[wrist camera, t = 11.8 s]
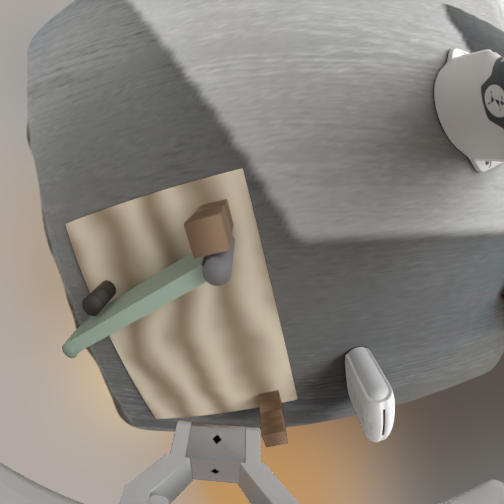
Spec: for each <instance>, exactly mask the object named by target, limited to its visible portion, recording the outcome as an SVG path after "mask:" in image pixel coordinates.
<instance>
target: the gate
mask: <svg viewBox="0 0 504 504" xmlns="http://www.w3.org/2000/svg"><path fill="white" fill-rule="evenodd" d="M234 246H235V239H234V237H233V235H232V237H231V243H230V249H229V250H228V251H224V252H220V253H216V254H211V255H207V256H203V257H199V258H195V259H194V257H193V254H192V253H191V254H189V255H187V256H185V257H184V258H182V259H180V260H179V261H177V262H175V263H174V264H172V265H170V266H169V267H167V268H165V269H164V270H162V271H160V272H159V273H157V274H155V275H154V276H152V277H150V278H149V279H147V280H145V281H144V282H142V283H141V284H139V285H137V286H136V287H134V288H132V289H131V290H129V291H128V292H126V293H124V294H123V295H121V296H119V297H118V298H116V299H115V300H113V301H111V302H110V303H108V304H107V305H105V307H104V308H103V309H102V310H101V311H100V312H99V313H98V315H96V316H91V315H89V316H88V317H87V318H86V319H85V321H84V322H83V323H82V324H81V325H80V326H79V327H78V328H77V330H76V331H75V332H74V333H73V334H72V335H71V337H70V338H69V339H68V340H67V341H66V342H65V344H64V345H63V346H62V349H63V352H64V353H65V355H67V356H68V357H69V358H75V357H76V355H77V354H78V353H79V351H81V350H83V349H85V348H87V347H89V346H91V345H92V344H94V343H96V342H98V341H100V340H102V339H103V338H105V337H107V336H109V335H111V334H113V333H114V332H116V331H118V330H120V329H122V328H124V327H125V326H127V325H129V324H131V323H133V322H135V321H136V320H138V319H140V318H142V317H144V316H145V315H147V314H149V313H151V312H153V311H155V310H156V309H158V308H160V307H162V306H164V305H165V304H167V303H169V302H171V301H173V300H175V299H176V298H178V297H180V296H182V295H184V294H185V293H187V292H189V291H191V290H193V289H195V288H196V287H198V286H200V285H202V284H204V283H205V282H208V283H209V284H211V285H214V286H221V285H224V284H225V283H227V282H228V281H229V279H230V277H231V272H232V263H233V254H234Z"/></svg>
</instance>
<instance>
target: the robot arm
mask: <svg viewBox="0 0 504 504" xmlns="http://www.w3.org/2000/svg"><path fill="white" fill-rule="evenodd" d="M434 99H435V106H436V110H437V114H438V117H439V120H440V123H441V125H442V127H443V129H444V131H445V133H446V135H447V136H448V138H449V139H450V141H451V142H452V143H453V144H454V145H455V147H457V148H458V149H459V150H460V151H461V152H462V153H464V154H465V155H466V156H467V157H468V158H469V159H470V161H471V163H472V165H473V166H474V168H475V169H476V170H477V171H478V172H486V171H487V170H489V169H491V168H493V167H495V166H497V165H499V164H501V163H503V162H504V56H502V57H501V56H500V55H498V53H496V52H492V51H491V50H488V49H487V50H482V51H478V52H474V53H468V52H466V51H463V50H460V49H458V48H454V49H451V50H450V51H449V54H448V59H447V63H446V64H445V65H444V67H443V68H442V69H441V70H440V71H439V73H438V75H437V78H436V81H435V87H434ZM485 161H486V163H485ZM193 479H197V480H208V481H219V482H229V483H238V485H239V487H240V488H241V490H242V491H243V493H244V494H245V496H246V497H247V498H248V500H249V502H250V503H251V504H300V503H299V502H298V501H297V500H296V499H295V498H294V497H293V496H292V495H291V493H289V491H288V490H287V489H286V488H285V487H284V486H283V484H282V483H281V482H280V481H279V480H278V479H277V477H275V475H274V474H273V473H272V471H271V470H270V469H269V468H268V467H267V466H266V464H265V463H261V450H260V429H259V428H253V427H246V428H245V427H238V426H222V425H219V426H217V425H209V424H201V423H193V422H187V421H180V420H179V421H178V423H177V426H176V430H175V434H174V439H173V443H172V447H171V452H170V454H165V455H164V456H163V457H162V458H160V459H159V460H158V461H157V462H155V463H154V464H153V465H152V466H151V467H149V468H148V469H147V470H145V471H144V472H143V473H141V474H140V475H139V476H138V477H136V478H135V479H134V480H132V481H131V482H130V483H128V484H127V485H126V486H125V487H124V489H123V493H122V496H121V499H120V503H119V504H170V503H171V502H172V501H173V500H174V499H175V498H176V497H177V496H178V495H179V494H180V493H181V492H182V491H183V490H184V489H185V488H186V487H187V486H188V485H189V484H190V483H191V482H192V481H193ZM0 504H83V503H80V502H78V501H75V500H73V499H70V498H68V497H65V496H63V495H61V494H58V493H56V492H54V491H52V490H50V489H48V488H46V487H44V486H42V485H40V484H37V483H36V482H34V481H32V480H30V479H28V478H26V477H24V476H23V475H20V474H19V473H17V472H15V471H13V470H12V469H10V468H9V467H7V466H5V465H4V464H2V463H0ZM438 504H504V483H502V482H500V481H497V480H494V479H493V480H489V481H487V482H485V483H483V484H481V485H479V486H477V487H474V488H472V489H470V490H468V491H466V492H464V493H462V494H459V495H457V496H455V497H453V498H450V499H448V500H445V501H443V502H440V503H438Z"/></svg>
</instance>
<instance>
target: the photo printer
mask: <svg viewBox="0 0 504 504" xmlns="http://www.w3.org/2000/svg"><path fill="white" fill-rule="evenodd" d="M345 370H346V381H347V389H348V394H349V397H350V399H351V402H352V404H353V407H354V409H355V411H356V414H357V416H358V419H359V421H360V424H361V427H362V429H363V432H364V434H365V436H366V437H367V439H368V440H370V441H372V442H378V441H380V440H384V439H386V437H387V436H388V435H389V434H390V432H391V430H392V427H393V423H394V415H395V400H394V394H393V391H392V388H391V386H390V384H389V383H388V381H387V379H386V377H385V376H384V374H383V372H382V370H381V369H380V367H379V365H378V364H377V362H376V360H375V359H374V357H373V355H372V354H371V352H370V350H369V349H368V348H364V347H357V348H354V349H352V350H350V351H349V352H348V354H346V356H345Z"/></svg>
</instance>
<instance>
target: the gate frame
mask: <svg viewBox="0 0 504 504" xmlns="http://www.w3.org/2000/svg"><path fill="white" fill-rule="evenodd" d="M65 225H66V229H67V232H68V235H69V238H70V241H71V244H72V247H73V250H74V253H75V256H76V258H77V261H78V264H79V267H80V269H81V272H82V274H83V277H84V280H85V282H86V285H87V287H88V290H89V292H90V294H89V295H88V296H87V297H86V298H85V299H84V300H83V303H82V306H83V309H84V310H85V312H86V313H87V314H89V315H91V316H96V315H98V313H99V312H100V311H101V310H102V309H103V308H104V307H105V305H107V304H108V303H110V302H111V301H113V300H115V299H116V298H118V297H119V296H121V295H123V294H124V293H126V292H128V291H129V290H131V289H132V288H134V287H136V286H137V285H139V284H141V283H142V282H144V281H145V280H147V279H149V278H150V277H152V276H154V275H155V274H157V273H159V272H160V271H162V270H164V269H165V268H167V267H169V266H170V265H172V264H174V263H175V262H177V261H179V260H180V259H182V258H184V257H185V256H187V255H189V254H191V253H192V254H193V257H194V259H195V258H199V257H203V256H207V255H211V254H216V253H220V252H224V251H228V250H229V249H230V243H231V237H232V235H233V237H234V239H235V246H234V254H233V263H232V272H231V277H230V279H229V281H228V282H227V283H225V284H224V285H221V286H214V285H211V284H209V283H208V282H205V283H204V284H202V285H200V286H198V287H196V288H195V289H193V290H191V291H189V292H187V293H185V294H184V295H182V296H180V297H178V298H176V299H175V300H173V301H171V302H169V303H167V304H165V305H164V306H162V307H160V308H158V309H156V310H155V311H153V312H151V313H149V314H147V315H145V316H144V317H142V318H140V319H138V320H136V321H135V322H133V323H131V324H129V325H127V326H125V327H124V328H122V329H120V330H118V331H116V332H114V333H113V334H111V335H109V336H110V338H111V341H112V343H113V345H114V346H115V348H116V350H117V352H118V354H119V356H120V358H121V360H122V362H123V364H124V366H125V367H126V369H127V371H128V373H129V375H130V376H131V378H132V380H133V382H134V383H135V385H136V387H137V389H138V390H139V392H140V394H141V395H142V397H143V399H144V400H145V402H146V404H147V405H148V407H149V408H150V410H151V412H152V413H153V415H154V416H155V418H156V419H167V418H181V417H192V416H202V415H211V414H219V413H226V412H233V411H240V410H246V409H252V408H258V407H260V420H261V435H262V438H263V440H264V443H265V445H266V447H270V446H276V445H281V444H286V443H288V441H287V434H286V427H285V420H284V413H283V407H282V403H283V402H288V401H293V400H297V394H296V390H295V385H294V381H293V376H292V372H291V368H290V363H289V359H288V355H287V350H286V346H285V342H284V337H283V333H282V329H281V325H280V320H279V316H278V312H277V308H276V303H275V299H274V295H273V291H272V286H271V282H270V278H269V274H268V270H267V265H266V261H265V257H264V253H263V249H262V245H261V241H260V236H259V232H258V228H257V224H256V220H255V216H254V212H253V208H252V204H251V200H250V196H249V191H248V187H247V183H246V179H245V175H244V171H243V168H242V169H237V170H233V171H230V172H226V173H222V174H218V175H214V176H210V177H207V178H203V179H199V180H196V181H192V182H189V183H185V184H182V185H178V186H175V187H171V188H168V189H165V190H161V191H158V192H155V193H152V194H149V195H145V196H142V197H139V198H136V199H133V200H130V201H127V202H124V203H121V204H118V205H115V206H112V207H109V208H107V209H104V210H101V211H98V212H95V213H93V214H90V215H87V216H84V217H82V218H79V219H76V220H74V221H71V222H69V223H66V224H65Z"/></svg>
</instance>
